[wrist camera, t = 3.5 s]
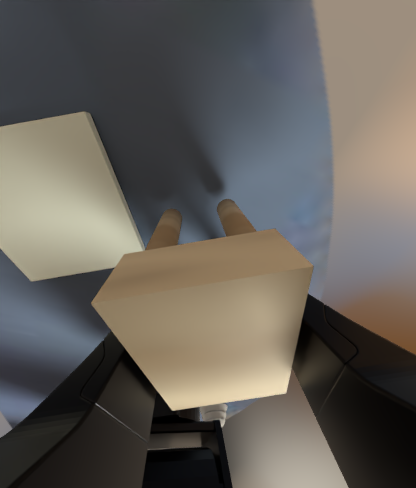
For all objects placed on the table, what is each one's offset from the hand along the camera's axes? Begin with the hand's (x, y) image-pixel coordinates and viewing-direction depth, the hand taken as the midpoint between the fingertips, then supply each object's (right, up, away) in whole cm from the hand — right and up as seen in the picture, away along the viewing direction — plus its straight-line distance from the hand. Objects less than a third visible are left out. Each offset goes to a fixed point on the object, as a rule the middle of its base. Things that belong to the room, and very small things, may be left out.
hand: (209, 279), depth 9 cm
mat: (-10, +4, +2) cm, 11 cm away
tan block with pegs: (0, +2, +3) cm, 3 cm away
